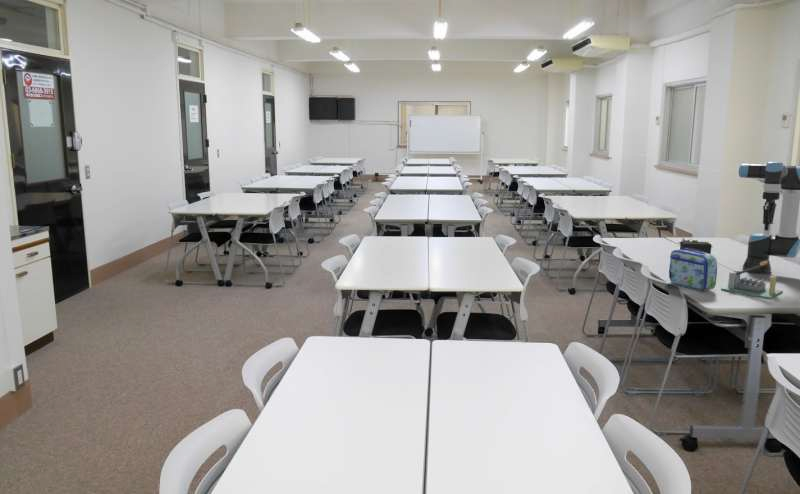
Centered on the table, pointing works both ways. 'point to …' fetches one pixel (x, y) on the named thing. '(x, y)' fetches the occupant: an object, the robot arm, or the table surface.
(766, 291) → the board
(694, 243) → the router
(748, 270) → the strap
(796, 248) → the robot arm
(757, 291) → the heatsink
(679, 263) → the lunch box
